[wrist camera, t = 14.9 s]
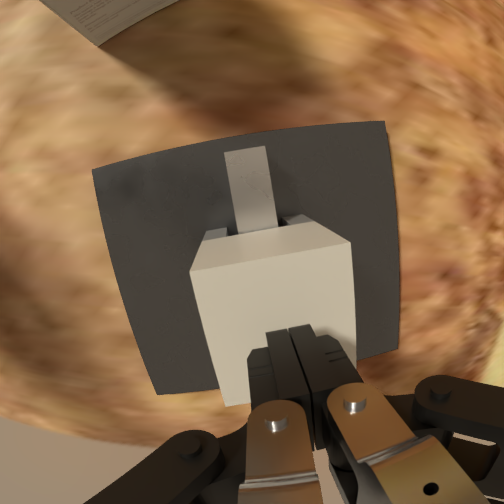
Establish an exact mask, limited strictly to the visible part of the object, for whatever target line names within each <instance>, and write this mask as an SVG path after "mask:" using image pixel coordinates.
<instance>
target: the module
mask: <svg viewBox="0 0 504 504" xmlns="http://www.w3.org/2000/svg"><path fill="white" fill-rule="evenodd" d="M282 221H283V227H277V228H272V229H266V230H260V231H255V232H249V233H244V234H238V235H233V236H228V231H227V227H226V228H220V229H215V230H209V231H206V233H205V235H204V238H203V240H202V242H201V245H200V247H199V250H198V252H197V254H196V257H195V259H194V262H193V264H192V267H191V269H190V271H189V272H190V277H191V281H192V285H193V289H194V293H195V298H196V302H197V306H198V310H199V313H200V317H201V321H202V325H203V329H204V333H205V337H206V340H207V344H208V348H209V351H210V355H211V358H212V362H213V366H214V369H215V373H216V376H217V380H218V383H219V386H220V390H221V393H222V396H223V400H224V403H225V406H233V405H240V404H246V403H251V400H250V389H249V378H248V368H247V358H248V356H249V354H250V352H251V351H252V349H257V348H263V347H268V346H267V340H266V334H265V332H270V331H275V330H281V329H286V328H287V330H288V328H290V327H295V326H300V325H305V324H310V325H311V327H312V329H313V331H314V333H315V335H316V337H318V336H322V335H327V334H328V335H330V336H331V337H333V338H335V339H337V340H338V341H339V343H340V344H341V346H342V348H343V350H344V351H345V352H346V354H347V356H348V358H349V359H350V361H351V362H352V364H353V365H354V367H355V369H356V320H355V298H354V281H353V267H352V254H351V243H350V242H349V241H347V240H346V239H344V238H342V237H341V236H339V235H337V234H336V233H334V232H332V231H331V230H329V229H327V228H325V227H324V226H322V225H320V224H319V223H317V222H315V221H313V220H312V219H310V218H308V217H306V216H305V215H303V214H300V215H294V216H288V217H282Z"/></svg>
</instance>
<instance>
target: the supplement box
mask: <svg viewBox="0 0 504 504" xmlns="http://www.w3.org/2000/svg"><path fill="white" fill-rule="evenodd" d="M39 1H41V2H42V3H43V4H44V5H45V6H47V7H48V8H49V9H50V10H52V11H53V12H54V13H55V14H57V15H58V16H59V17H60V18H62V19H63V20H64V21H65V22H67V23H68V24H69V25H70V26H71V27H73V28H74V29H75V30H77V31H78V32H79V33H81V34H82V35H83V36H84V37H85V38H87V39H88V40H89V41H90V42H92V43H93V44H94V45H95V46H99V45H101V44H102V43H104V42H105V41H107V40H108V39H110V38H111V37H113V36H115V35H116V34H118V33H119V32H121V31H123V30H124V29H126V28H128V27H129V26H131V25H133V24H135V23H136V22H138V21H140V20H142V19H143V18H145V17H147V16H149V15H151V14H153V13H155V12H157V11H159V10H160V9H162V8H164V7H166V6H168V5H171V4H173V3H175V2H177V1H179V0H39Z"/></svg>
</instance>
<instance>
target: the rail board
mask: <svg viewBox="0 0 504 504" xmlns="http://www.w3.org/2000/svg"><path fill="white" fill-rule="evenodd" d="M92 175H93V180H94V186H95V191H96V196H97V201H98V206H99V211H100V216H101V220H102V225H103V229H104V233H105V238H106V242H107V246H108V250H109V254H110V258H111V261H112V265H113V269H114V272H115V276H116V280H117V283H118V286H119V290H120V293H121V296H122V300H123V303H124V306H125V309H126V312H127V316H128V319H129V322H130V325H131V328H132V331H133V333H134V336H135V339H136V342H137V345H138V348H139V350H140V353H141V356H142V358H143V361H144V364H145V366H146V369H147V371H148V374H149V376H150V379H151V381H152V384H153V386H154V389H155V391H156V394H157V395H164V394H176V393H186V392H195V391H204V390H212V389H219V388H220V386H219V383H218V380H217V376H216V373H215V369H214V366H213V362H212V358H211V355H210V351H209V348H208V344H207V340H206V337H205V333H204V329H203V325H202V321H201V317H200V313H199V310H198V306H197V302H196V298H195V293H194V289H193V285H192V281H191V277H190V272H189V271H190V269H191V267H192V264H193V262H194V259H195V257H196V254H197V252H198V250H199V247H200V245H201V242H202V240H203V238H204V235H205V233H206V231H209V230H215V229H220V228H226V227H227V231H228V236H233V235H238V234H244V233H249V232H255V231H260V230H266V229H272V228H277V227H283V221H282V217H288V216H294V215H300V214H303V215H305V216H306V217H308V218H310V219H312V220H313V221H315V222H317V223H319V224H320V225H322V226H324V227H325V228H327V229H329V230H331V231H332V232H334V233H336V234H337V235H339V236H341V237H342V238H344V239H346V240H347V241H349V242H350V243H351V254H352V267H353V281H354V298H355V320H356V361H357V360H361V359H364V358H368V357H371V356H375V355H378V354H382V353H385V352H388V351H392V350H395V349H398V331H399V248H398V229H397V215H396V203H395V193H394V183H393V175H392V167H391V159H390V152H389V145H388V139H387V133H386V127H385V121H367V122H351V123H337V124H325V125H315V126H305V127H296V128H288V129H280V130H272V131H265V132H258V133H252V134H245V135H239V136H233V137H227V138H222V139H216V140H211V141H206V142H201V143H196V144H191V145H186V146H181V147H177V148H172V149H168V150H164V151H159V152H155V153H151V154H147V155H143V156H139V157H135V158H131V159H128V160H124V161H120V162H117V163H113V164H109V165H106V166H102V167H99V168H96V169H92Z"/></svg>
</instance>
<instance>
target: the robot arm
mask: <svg viewBox="0 0 504 504" xmlns="http://www.w3.org/2000/svg"><path fill="white" fill-rule="evenodd" d="M265 334H266V340H267V346H268V347H263V348H257V349H252V351H251V352H250V354H249V356H248V358H247V368H248V378H249V389H250V400H251V413H250V415H249V417H248V421H247V423H246V424H245V425H244V426H243V427H241V428H240V429H239V430H237V431H235V432H233V433H231V434H228V435H225V436H223V437H220V438H216V437H215V436H214V435H213V434H211V433H209V432H206V431H202V430H189V431H184V432H181V433H178V434H176V435H174V436H173V437H171V438H170V439H169V440H167V441H166V442H165V443H164V444H163V445H161V446H160V447H159V448H158V449H156V450H155V451H154V452H153V453H151V454H150V455H149V456H147V457H146V458H145V459H144V460H142V461H141V462H140V463H139V464H137V465H136V466H135V467H133V468H132V469H131V470H129V471H128V472H127V473H125V474H124V475H123V476H121V477H120V478H119V479H117V480H116V481H115V482H113V483H112V484H110V485H109V486H108V487H106V488H105V489H103V490H102V491H101V492H99V493H98V494H97V495H95V496H93V497H92V498H91V499H89V500H88V501H86V502H85V503H84V504H323V500H322V495H321V488H320V483H319V478H318V475H317V474H316V470H315V464H314V459H313V453H312V451H314V443H315V446H316V449H317V450H320V449H324V448H326V450H327V453H328V456H329V469H330V472H331V474H332V476H333V478H334V481H335V483H336V485H337V487H338V490H339V492H340V494H341V496H342V499H343V501H344V503H345V504H504V502H502V501H498V500H494V499H489V498H486V497H485V496H484V495H486V496H491V497H495V498H500V499H504V388H503V387H498V386H493V385H488V384H483V383H478V382H474V381H469V380H465V379H460V378H456V377H451V376H447V375H435V376H431V377H428V378H425V379H424V380H422V381H421V382H420V383H419V384H418V385H417V386H416V388H415V392H414V394H408V395H398V396H386V395H383V394H382V393H381V392H380V391H379V390H378V389H377V388H376V387H374V386H372V385H370V384H366V383H364V382H363V380H362V379H361V377H360V375H359V374H358V372H357V370H356V369H355V367H354V365H353V364H352V362H351V361H350V359H349V358H348V356H347V354H346V352H345V351H344V350H343V348H342V346H341V344H340V343H339V341H338V340H337V339H335V338H333V337H331V336H330V335H328V334H327V335H322V336H318V337H316V335H315V333H314V331H313V329H312V327H311V325H310V324H305V325H300V326H295V327H290V328H288V330H287V328H286V329H281V330H275V331H270V332H265ZM454 432H455V433H459V434H463V435H467V436H471V437H474V438H478V439H483V440H487V441H492V442H494V443H496V444H495V445H491V446H487V445H483V444H478V443H475V442H471V441H466V440H463V439H459V438H456V437H453V434H454Z"/></svg>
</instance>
